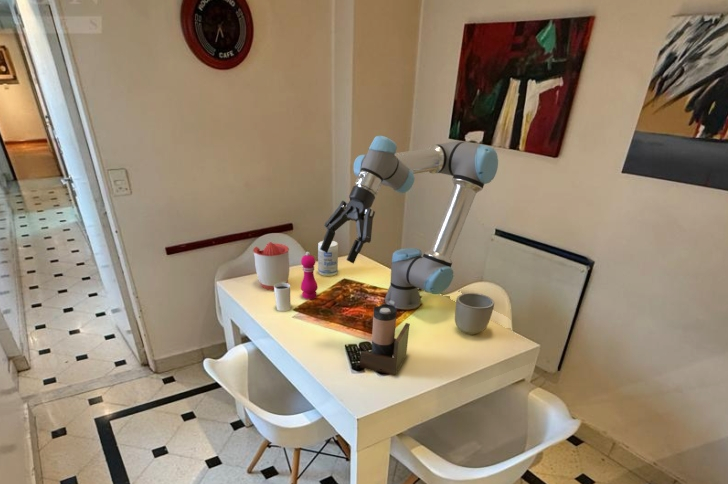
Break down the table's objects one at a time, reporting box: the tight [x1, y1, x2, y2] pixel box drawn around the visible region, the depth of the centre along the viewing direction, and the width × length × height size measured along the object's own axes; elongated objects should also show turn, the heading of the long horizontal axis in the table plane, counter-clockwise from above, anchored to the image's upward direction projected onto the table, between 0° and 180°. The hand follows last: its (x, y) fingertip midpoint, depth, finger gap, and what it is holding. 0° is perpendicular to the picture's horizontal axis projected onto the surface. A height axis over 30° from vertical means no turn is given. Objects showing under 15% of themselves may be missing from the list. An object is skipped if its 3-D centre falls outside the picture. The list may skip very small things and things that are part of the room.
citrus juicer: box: [252, 241, 290, 291], centre depth 207 cm, size 16×17×20 cm
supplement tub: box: [317, 240, 339, 277], centre depth 221 cm, size 10×10×15 cm
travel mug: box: [371, 303, 398, 358], centre depth 155 cm, size 8×8×20 cm
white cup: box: [273, 282, 292, 312], centre depth 190 cm, size 7×7×10 cm
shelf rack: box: [359, 322, 411, 376], centre depth 157 cm, size 14×13×13 cm
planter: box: [454, 292, 495, 336], centre depth 175 cm, size 14×14×13 cm
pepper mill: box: [300, 251, 318, 300], centre depth 197 cm, size 7×7×20 cm
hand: (336, 256), depth 145 cm, fingers open, 13 cm apart
